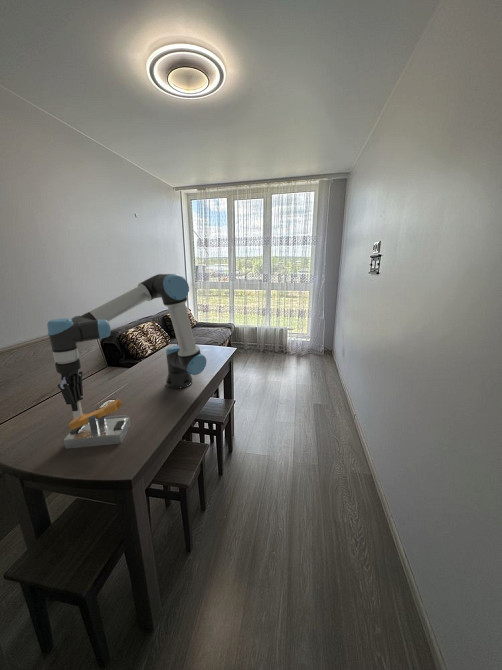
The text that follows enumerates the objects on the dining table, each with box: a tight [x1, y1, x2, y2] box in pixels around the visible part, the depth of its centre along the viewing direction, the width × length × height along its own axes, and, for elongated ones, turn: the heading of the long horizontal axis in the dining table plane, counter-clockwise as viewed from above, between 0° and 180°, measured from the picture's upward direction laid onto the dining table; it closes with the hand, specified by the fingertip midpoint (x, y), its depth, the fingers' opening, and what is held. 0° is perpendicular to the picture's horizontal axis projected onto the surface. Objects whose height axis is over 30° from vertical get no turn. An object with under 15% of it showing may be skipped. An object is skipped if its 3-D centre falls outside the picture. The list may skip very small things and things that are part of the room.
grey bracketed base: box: [63, 406, 132, 450], centre depth 102 cm, size 20×12×11 cm, turn 98°
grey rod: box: [97, 414, 129, 420], centre depth 113 cm, size 15×2×2 cm, turn 98°
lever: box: [68, 398, 123, 431], centre depth 101 cm, size 19×5×3 cm, turn 99°
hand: (78, 416), depth 100 cm, fingers closed
